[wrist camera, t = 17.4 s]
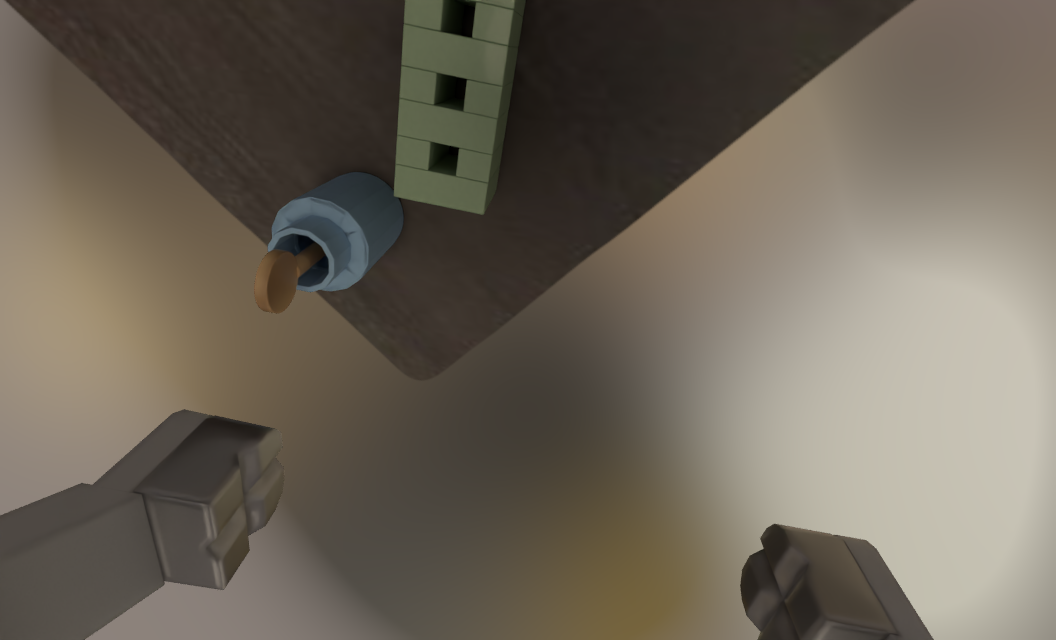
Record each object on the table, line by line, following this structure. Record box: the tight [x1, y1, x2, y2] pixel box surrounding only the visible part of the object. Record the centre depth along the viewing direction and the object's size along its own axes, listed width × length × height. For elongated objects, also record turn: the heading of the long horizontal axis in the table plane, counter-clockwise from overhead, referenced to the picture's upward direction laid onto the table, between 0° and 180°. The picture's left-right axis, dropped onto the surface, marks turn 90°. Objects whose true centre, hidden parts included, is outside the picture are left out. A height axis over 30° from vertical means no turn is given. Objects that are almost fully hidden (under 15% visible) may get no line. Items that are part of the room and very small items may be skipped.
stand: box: [394, 0, 526, 215], centre depth 36 cm, size 16×7×7 cm, turn 169°
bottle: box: [268, 172, 404, 292], centre depth 40 cm, size 7×7×12 cm
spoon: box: [254, 242, 326, 313], centre depth 37 cm, size 4×1×17 cm, turn 170°
